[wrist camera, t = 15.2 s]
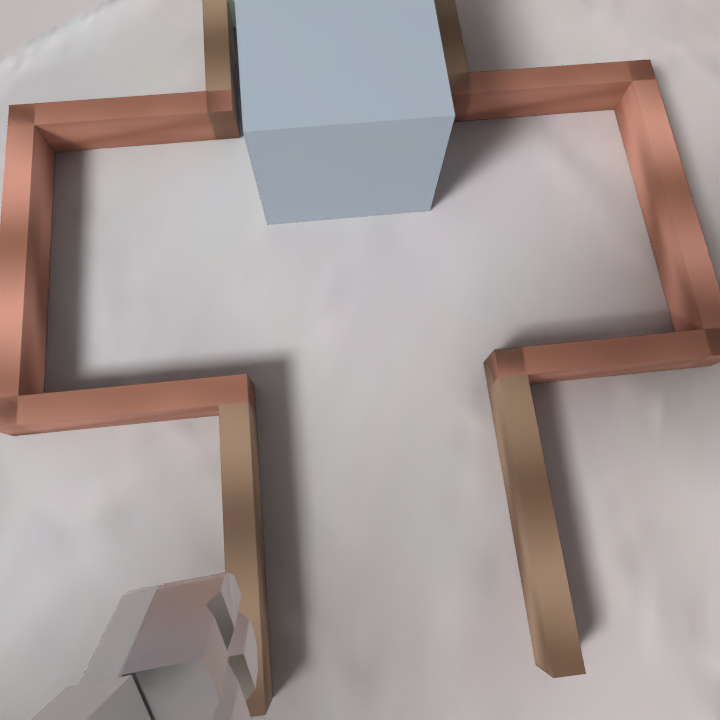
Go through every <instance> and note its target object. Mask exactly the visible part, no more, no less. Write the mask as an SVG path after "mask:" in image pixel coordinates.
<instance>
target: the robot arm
mask: <svg viewBox="0 0 720 720" xmlns="http://www.w3.org/2000/svg"><path fill="white" fill-rule="evenodd" d="M240 599H241V592H240V590H239V587H238V584H237V582H236V579H235V576H233V575H232V574H231V573H229V572H227V573H221V574H216V575H210V576H205V577H199V578H194V579H188V580H183V581H177V582H172V583H166V584H163V585H156V586H151V587H146V588H141V589H136V590H131V591H129V592H128V593H126V594H125V595H123V596H122V597H121V599H120V601H119V603H118V605H117V607H116V609H115V611H114V614H113V616H112V618H111V620H110V622H109V624H108V626H107V628H106V630H105V632H104V634H103V636H102V638H101V640H100V642H99V644H98V646H97V648H96V650H95V652H94V654H93V657H92V659H91V661H90V663H89V665H88V667H87V669H86V671H85V673H84V675H83V677H82V679H81V681H80V683H79V685H78V686H74V687H69V688H66V689H65V690H64V691H63V692H62V693H61V694H60V695H58V696H57V697H56V698H55V699H54V700H53V701H52V702H51V703H49V704H48V705H47V706H46V707H45V708H44V709H43V710H42V711H40V712H39V713H38V714H37V715H36V716H35V717H34V718H33V719H31V720H251V716H250V713H249V710H248V707H247V704H246V700H247V699H248V698H249V697H250V695H251V694H252V693H253V692H254V690H255V689H256V681H257V673H258V662H257V646H256V641H255V635H254V631H253V628H252V625H251V622H250V619H249V618H248V617H246V616H245V615H243V614H242V613H241V612H239V611H238V609H239V604H240Z"/></svg>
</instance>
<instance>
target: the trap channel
mask: <svg viewBox="0 0 720 720" xmlns="http://www.w3.org/2000/svg"><path fill="white" fill-rule="evenodd" d="M202 2H203V27H204V52H205V77H206V91H202V92H188V93H174V94H160V95H146V96H132V97H118V98H104V99H90V100H76V101H62V102H48V103H34V104H20V105H9V115H8V129H7V142H6V156H5V170H4V183H3V197H2V210H1V224H0V432H1V433H5V434H8V435H12V436H18V435H28V434H38V433H47V432H57V431H67V430H77V429H87V428H97V427H107V426H117V425H127V424H137V423H147V422H157V421H167V420H177V419H187V418H197V417H206V416H216V415H219V427H220V452H221V477H222V502H223V527H224V551H225V573H227V572H229V573H231V574H232V575H233V576H235V579H236V582H237V584H238V587H239V590H240V592H241V599H240V604H239V609H238V611H239V612H241V613H242V614H243V615H245V616H246V617H248V618H249V619H250V622H251V625H252V628H253V631H254V635H255V641H256V646H257V662H258V673H257V681H256V689H255V690H254V692H253V693H252V694H251V695H250V697H249V698H248V699H247V700H246V704H247V707H248V710H249V713H250V716H251V717H253V716H261V715H266V712H267V710H268V708H269V705H270V703H271V701H272V682H271V665H270V647H269V630H268V613H267V596H266V579H265V561H264V544H263V527H262V510H261V493H260V475H259V458H258V441H257V424H256V407H255V389H254V384H253V382H252V381H251V379H250V378H249V376H248V375H247V374H238V375H228V376H218V377H208V378H197V379H187V380H177V381H166V382H156V383H146V384H136V385H125V386H115V387H105V388H94V389H84V390H74V391H63V392H53V393H44V379H45V358H46V336H47V314H48V292H49V271H50V249H51V227H52V205H53V184H54V162H55V152H58V151H71V150H84V149H98V148H111V147H124V146H137V145H150V144H164V143H177V142H190V141H203V140H216V139H230V138H240V131H239V114H238V97H237V80H236V62H235V45H234V28H233V24H232V19H231V15H230V10H229V6H228V2H227V0H202ZM434 4H435V9H436V15H437V20H438V25H439V31H440V36H441V42H442V47H443V52H444V58H445V63H446V69H447V74H448V79H449V85H450V90H451V96H452V101H453V106H454V112H455V118H454V121H467V120H481V119H494V118H507V117H520V116H533V115H547V114H560V113H573V112H586V111H599V110H613V109H614V111H615V114H616V118H617V121H618V125H619V129H620V132H621V136H622V140H623V143H624V147H625V151H626V154H627V158H628V162H629V165H630V169H631V173H632V176H633V180H634V183H635V187H636V191H637V194H638V198H639V202H640V205H641V209H642V213H643V216H644V220H645V224H646V227H647V231H648V235H649V238H650V242H651V245H652V249H653V253H654V256H655V260H656V264H657V267H658V271H659V275H660V278H661V282H662V286H663V289H664V293H665V297H666V300H667V304H668V308H669V311H670V315H671V318H672V322H673V326H674V329H675V332H671V333H661V334H650V335H640V336H630V337H619V338H609V339H599V340H588V341H578V342H568V343H558V344H547V345H537V346H527V347H516V348H506V349H496V350H494V351H493V352H492V353H491V354H490V355H489V357H488V358H487V359H486V360H485V361H484V369H485V375H486V380H487V386H488V392H489V398H490V403H491V409H492V415H493V421H494V426H495V432H496V438H497V444H498V449H499V455H500V461H501V467H502V472H503V478H504V484H505V490H506V495H507V501H508V507H509V513H510V519H511V524H512V530H513V536H514V542H515V547H516V553H517V559H518V565H519V570H520V576H521V582H522V588H523V593H524V599H525V605H526V611H527V616H528V622H529V628H530V634H531V639H532V645H533V651H534V657H535V662H536V665H537V666H538V667H539V668H541V669H542V670H543V671H545V672H546V673H547V674H549V675H550V676H552V677H553V678H557V677H565V676H573V675H580V674H586V672H585V667H584V662H583V657H582V652H581V646H580V641H579V636H578V631H577V626H576V621H575V616H574V610H573V605H572V600H571V595H570V590H569V585H568V580H567V575H566V569H565V564H564V559H563V554H562V549H561V544H560V539H559V533H558V528H557V523H556V518H555V513H554V508H553V503H552V497H551V492H550V487H549V482H548V477H547V472H546V467H545V462H544V456H543V451H542V446H541V441H540V436H539V431H538V426H537V420H536V415H535V410H534V405H533V400H532V395H531V390H530V384H534V383H544V382H554V381H564V380H574V379H584V378H594V377H604V376H614V375H624V374H634V373H644V372H654V371H663V370H673V369H683V368H693V367H703V366H711V365H713V364H716V363H718V362H720V289H719V285H718V282H717V279H716V275H715V272H714V269H713V266H712V262H711V259H710V256H709V252H708V249H707V246H706V242H705V239H704V236H703V233H702V229H701V226H700V223H699V219H698V216H697V213H696V210H695V206H694V203H693V200H692V196H691V193H690V190H689V186H688V183H687V180H686V177H685V173H684V170H683V167H682V163H681V160H680V157H679V153H678V150H677V147H676V144H675V140H674V137H673V134H672V130H671V127H670V124H669V121H668V117H667V114H666V111H665V107H664V104H663V101H662V97H661V94H660V91H659V88H658V84H657V81H656V78H655V74H654V71H653V68H652V64H651V61H650V60H637V61H623V62H609V63H595V64H581V65H567V66H553V67H539V68H525V69H511V70H497V71H483V72H469V71H468V66H467V61H466V56H465V51H464V45H463V40H462V35H461V30H460V25H459V20H458V15H457V10H456V4H455V0H434Z"/></svg>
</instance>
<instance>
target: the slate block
mask: <svg viewBox="0 0 720 720" xmlns="http://www.w3.org/2000/svg"><path fill="white" fill-rule="evenodd" d="M235 13H236V28H237V44H238V60H239V76H240V92H241V108H242V124H243V134H244V138H245V141H246V145H247V149H248V153H249V157H250V160H251V164H252V168H253V172H254V176H255V179H256V183H257V187H258V191H259V195H260V199H261V202H262V206H263V210H264V214H265V218H266V221H267V225H271V224H283V223H294V222H306V221H318V220H329V219H341V218H353V217H364V216H376V215H387V214H399V213H411V212H422V211H430V209H431V205H432V201H433V197H434V194H435V190H436V186H437V182H438V178H439V175H440V171H441V167H442V163H443V160H444V156H445V152H446V148H447V144H448V141H449V137H450V133H451V129H452V125H453V122H454V118H455V112H454V106H453V101H452V96H451V90H450V85H449V79H448V74H447V69H446V63H445V58H444V52H443V47H442V42H441V36H440V31H439V25H438V20H437V15H436V9H435V4H434V0H235Z"/></svg>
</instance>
